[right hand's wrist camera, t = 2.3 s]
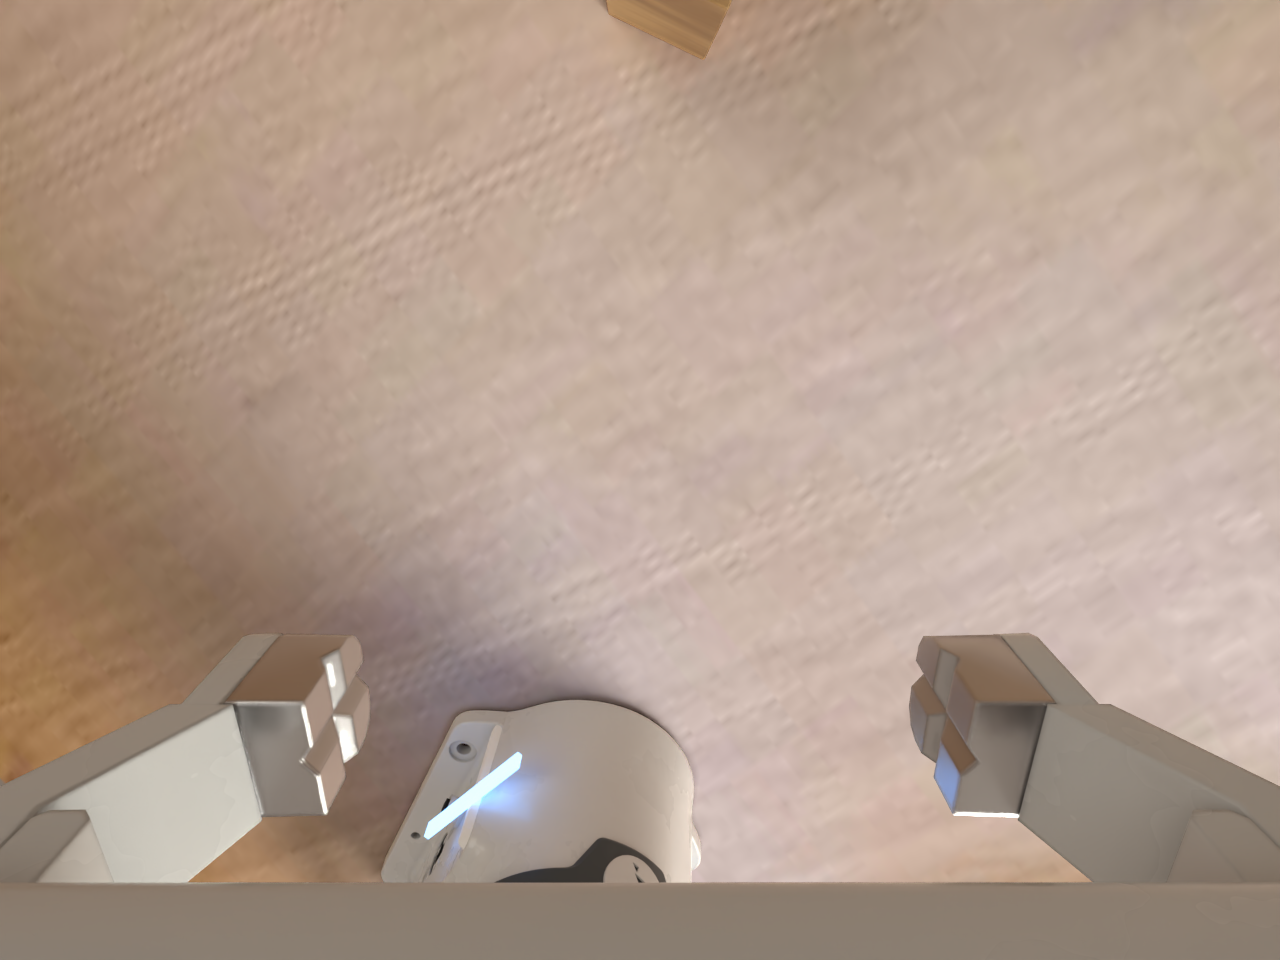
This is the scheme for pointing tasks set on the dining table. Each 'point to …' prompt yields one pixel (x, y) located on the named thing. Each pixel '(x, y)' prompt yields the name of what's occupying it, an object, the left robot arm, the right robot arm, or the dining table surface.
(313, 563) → the dining table surface
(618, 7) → the bar
